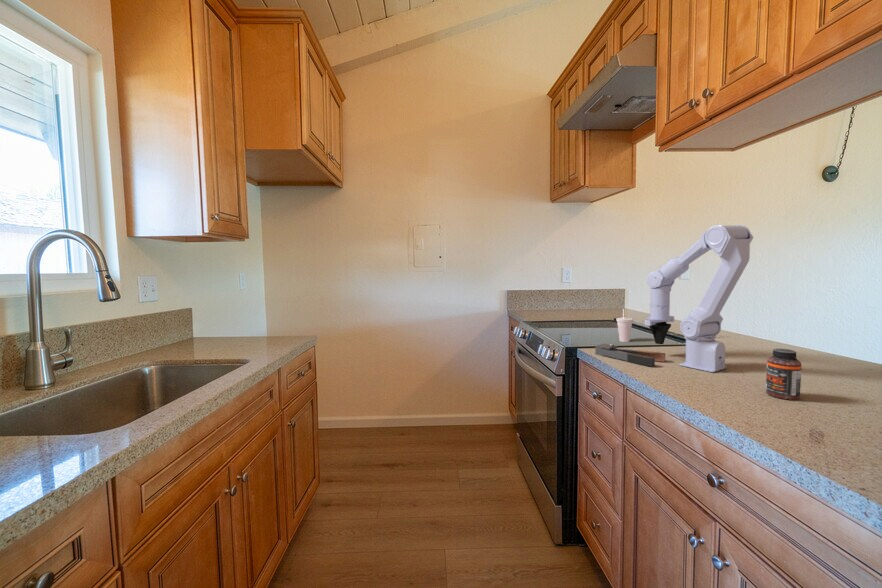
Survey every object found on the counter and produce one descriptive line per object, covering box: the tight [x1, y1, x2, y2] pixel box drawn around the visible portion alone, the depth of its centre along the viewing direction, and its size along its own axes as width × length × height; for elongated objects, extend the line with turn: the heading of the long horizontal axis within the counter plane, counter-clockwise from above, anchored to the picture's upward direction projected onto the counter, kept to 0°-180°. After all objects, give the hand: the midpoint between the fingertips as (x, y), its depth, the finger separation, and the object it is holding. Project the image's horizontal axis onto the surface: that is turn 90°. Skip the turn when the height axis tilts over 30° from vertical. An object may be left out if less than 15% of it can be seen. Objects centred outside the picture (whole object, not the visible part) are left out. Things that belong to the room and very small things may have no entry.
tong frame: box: [594, 343, 656, 368], centre depth 120 cm, size 21×5×4 cm, turn 28°
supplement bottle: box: [765, 348, 803, 401], centre depth 83 cm, size 6×6×11 cm
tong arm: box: [612, 347, 666, 363], centre depth 121 cm, size 18×3×2 cm, turn 50°
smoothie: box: [615, 308, 634, 343], centre depth 148 cm, size 6×6×14 cm
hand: (659, 343), depth 123 cm, fingers closed
